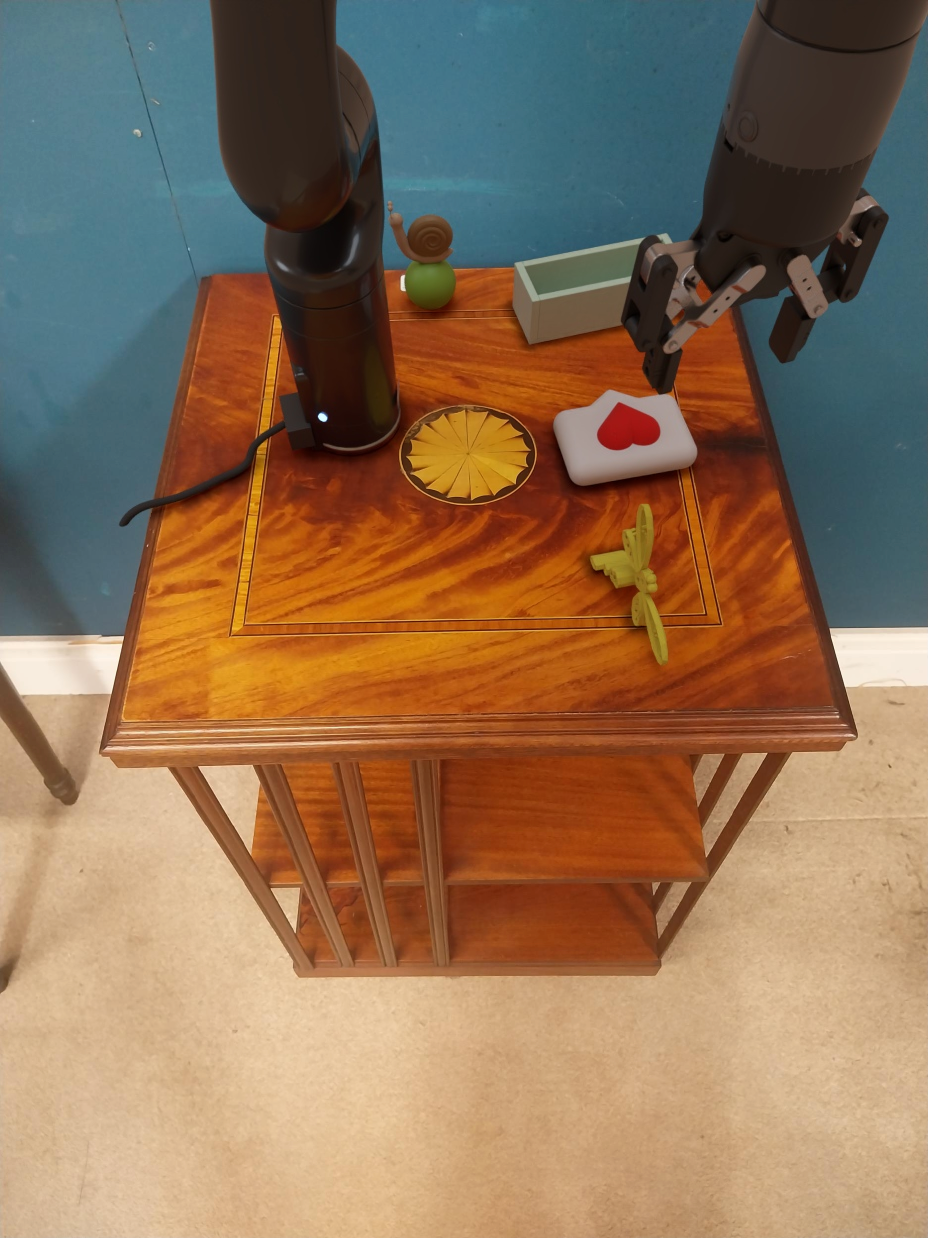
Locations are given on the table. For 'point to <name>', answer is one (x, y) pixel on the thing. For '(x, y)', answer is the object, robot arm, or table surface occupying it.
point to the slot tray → (574, 290)
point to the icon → (623, 438)
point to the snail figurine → (426, 259)
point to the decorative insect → (638, 577)
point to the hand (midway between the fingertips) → (719, 369)
